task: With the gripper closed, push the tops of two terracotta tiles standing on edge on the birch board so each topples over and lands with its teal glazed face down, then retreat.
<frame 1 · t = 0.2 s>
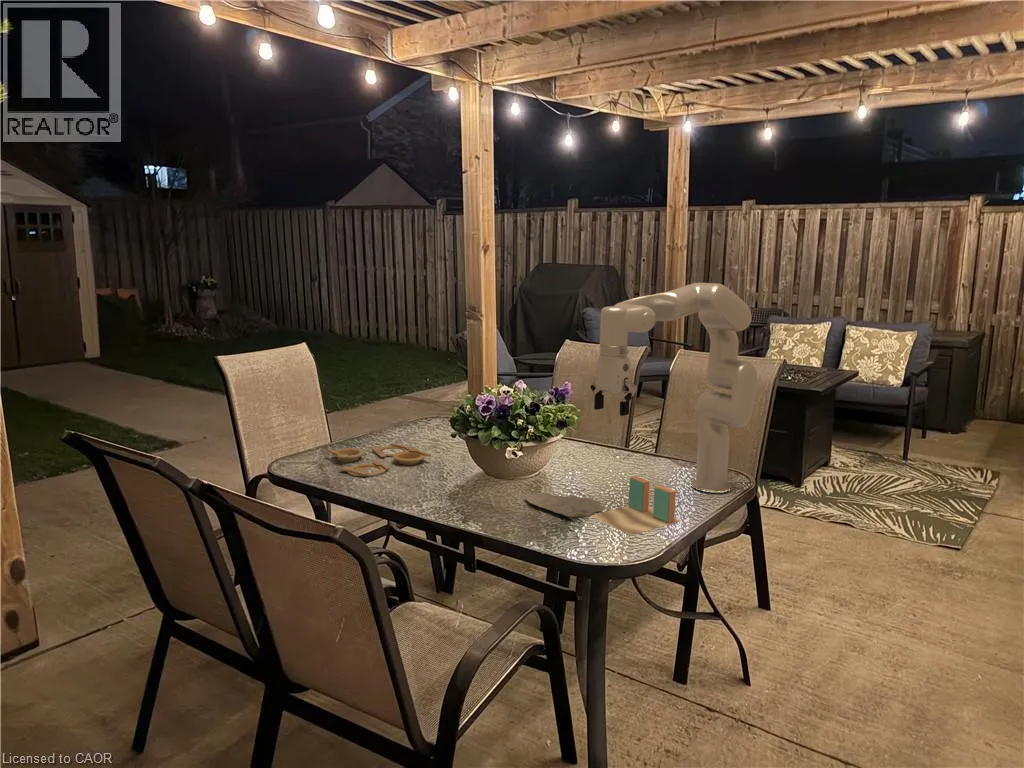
hand: (611, 411, 201), 31 cm above the table, tool pointing down, fingers open, 9 cm apart
board: (635, 521, 202), on the table
tile 2: (663, 519, 201), point 1 cm above the table, touching board
tile 1: (638, 508, 209), point 1 cm above the table, touching board
tableware set: (379, 462, 258), on the table
stone tool: (562, 509, 213), on the table
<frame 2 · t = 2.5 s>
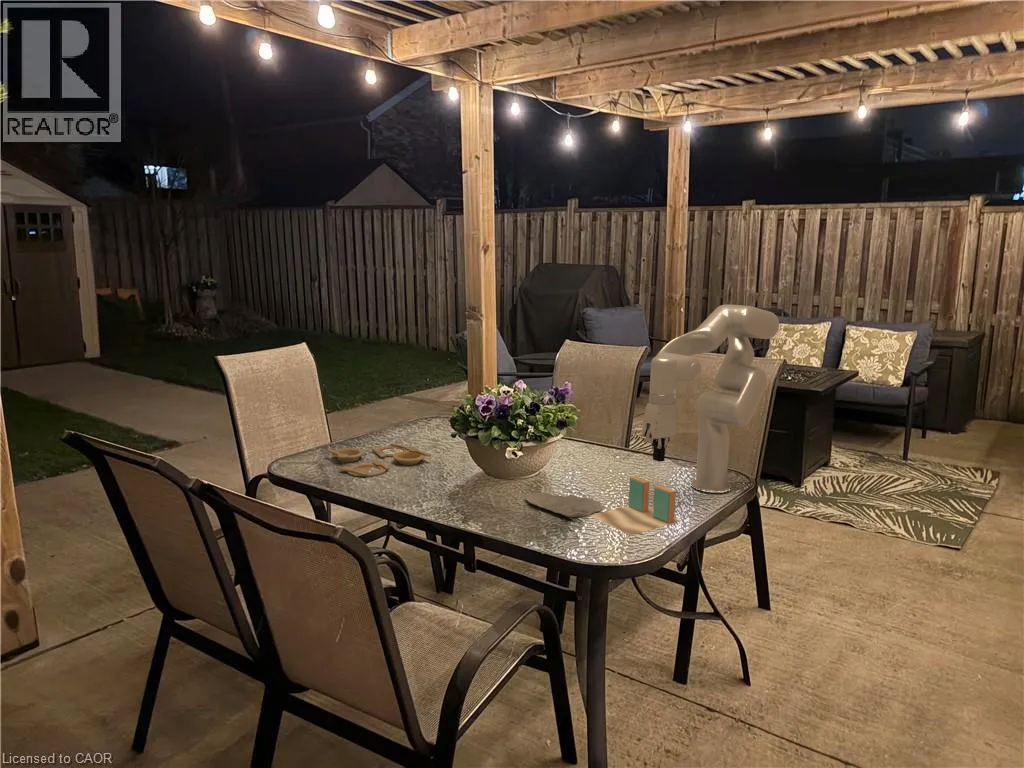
hand: (658, 460, 211), 15 cm above the table, tool pointing down, fingers closed
nothing on the table moved.
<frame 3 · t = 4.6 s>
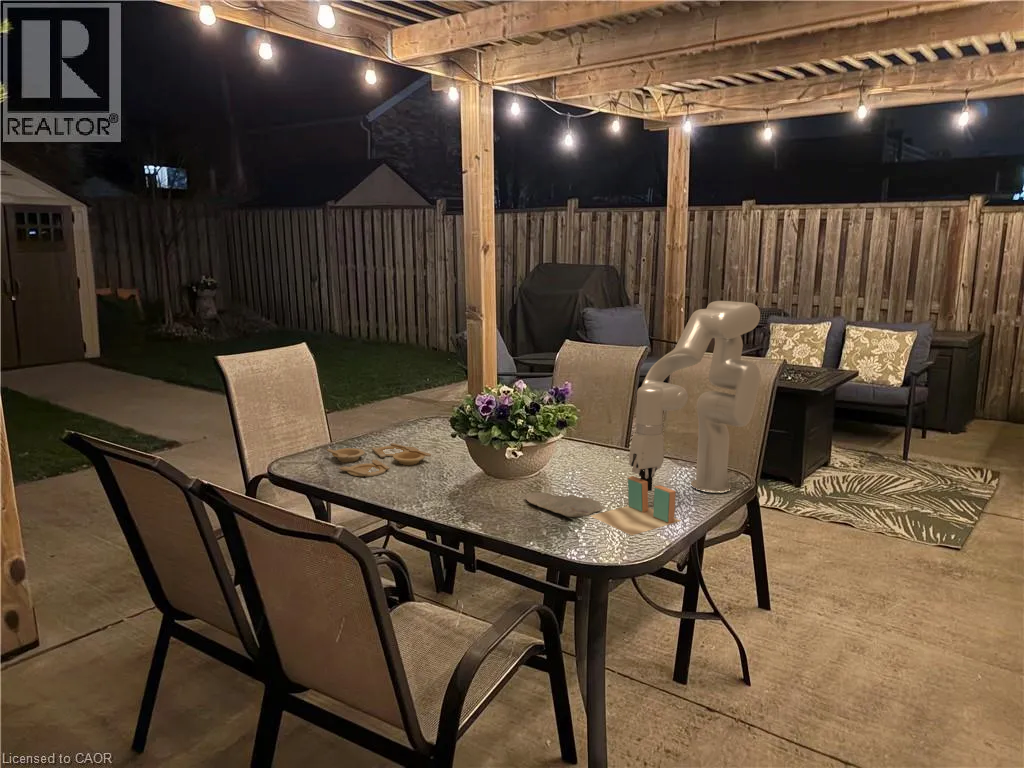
hand: (645, 489, 209), 6 cm above the table, tool pointing down, fingers closed
tile 1: (638, 508, 209), point 1 cm above the table, touching board, gripper
everything else where it was.
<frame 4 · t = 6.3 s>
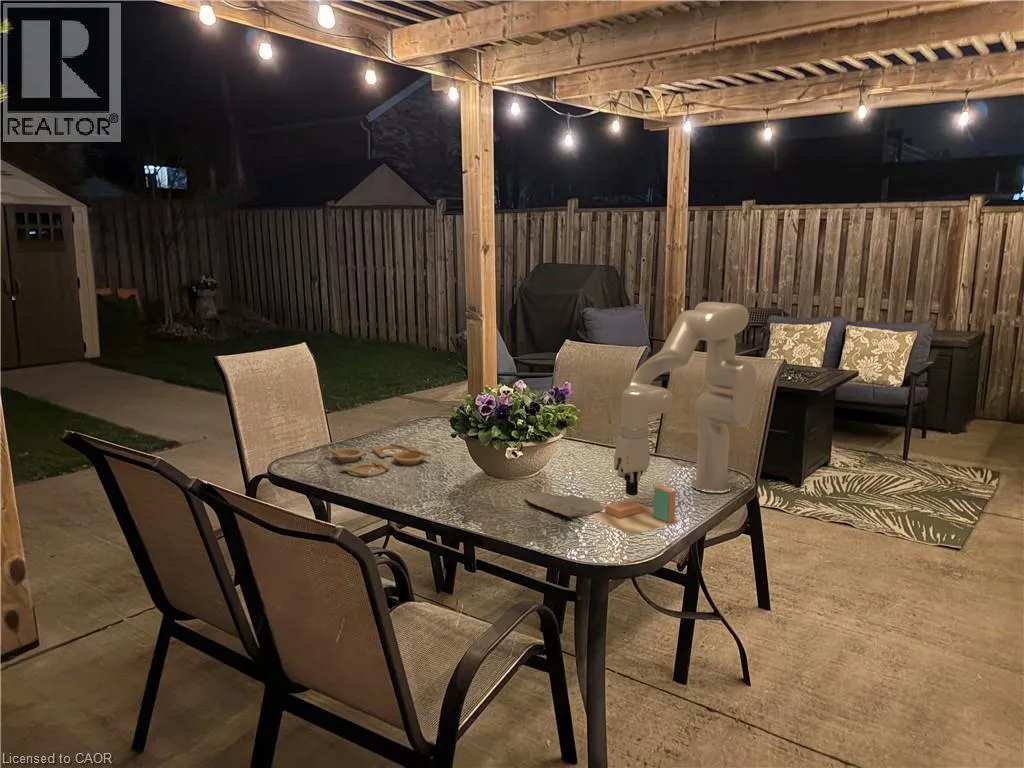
hand: (631, 494, 206), 6 cm above the table, tool pointing down, fingers closed
tile 1: (635, 505, 208), point 2 cm above the table, tilted 90°, touching board
everything else where it was.
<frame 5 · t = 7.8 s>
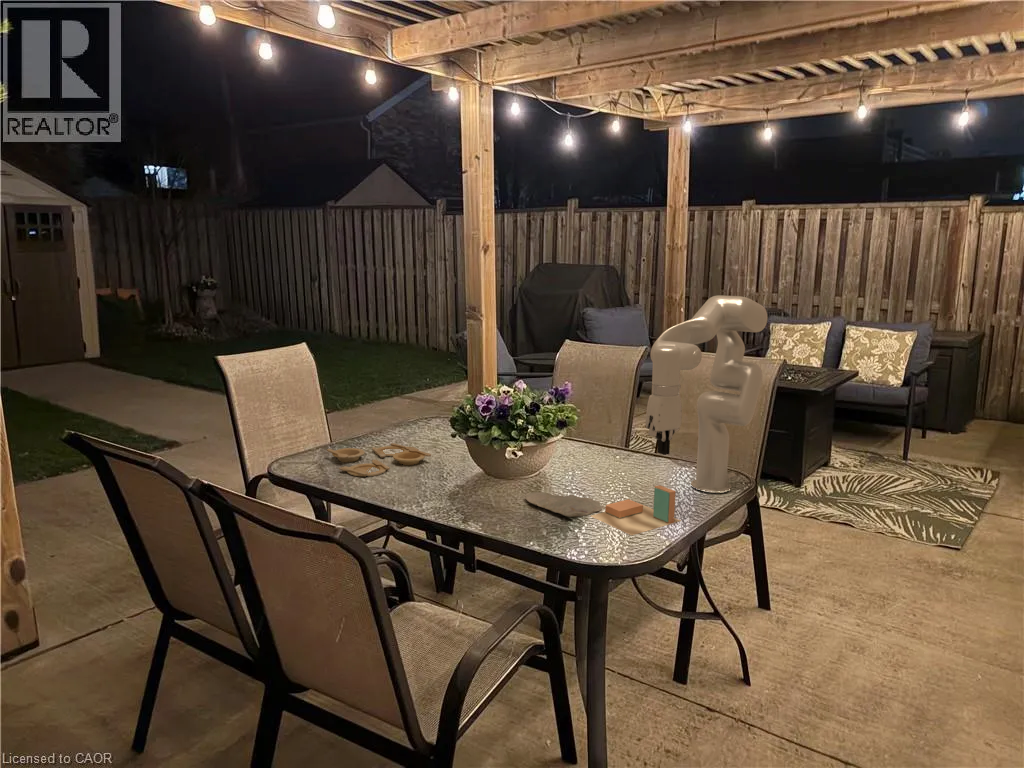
hand: (663, 453, 203), 19 cm above the table, tool pointing down, fingers closed
nothing on the table moved.
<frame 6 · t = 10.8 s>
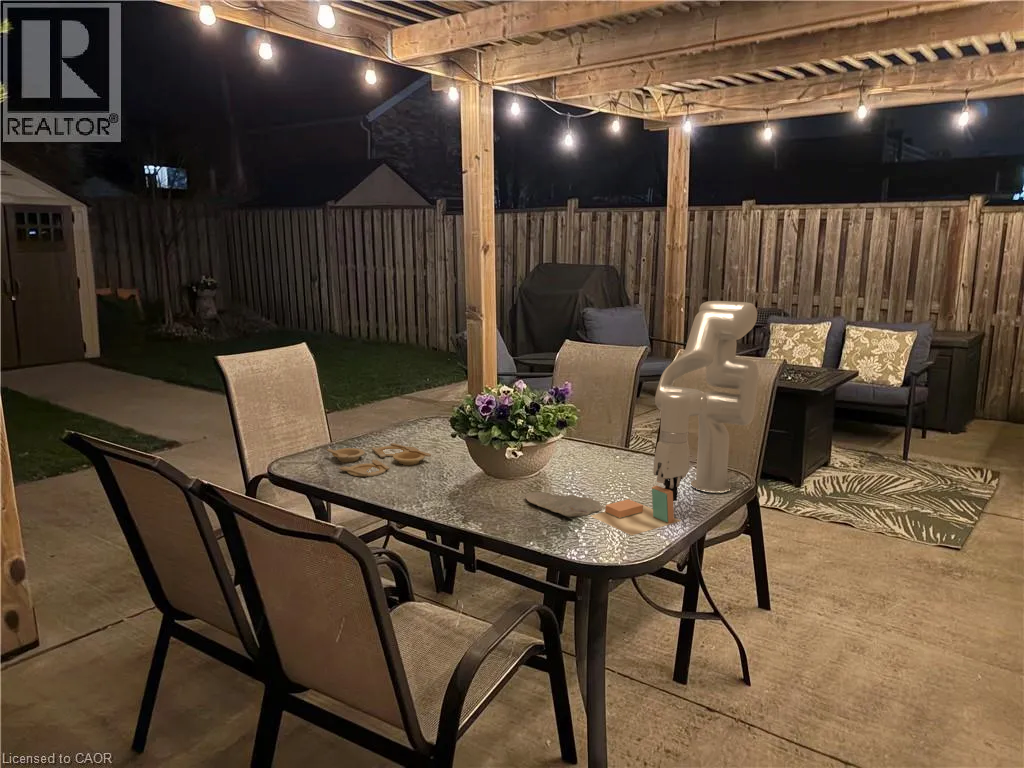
hand: (670, 499, 201), 6 cm above the table, tool pointing down, fingers closed
tile 2: (663, 519, 201), point 1 cm above the table, tilted 7°, touching board
everything else where it was.
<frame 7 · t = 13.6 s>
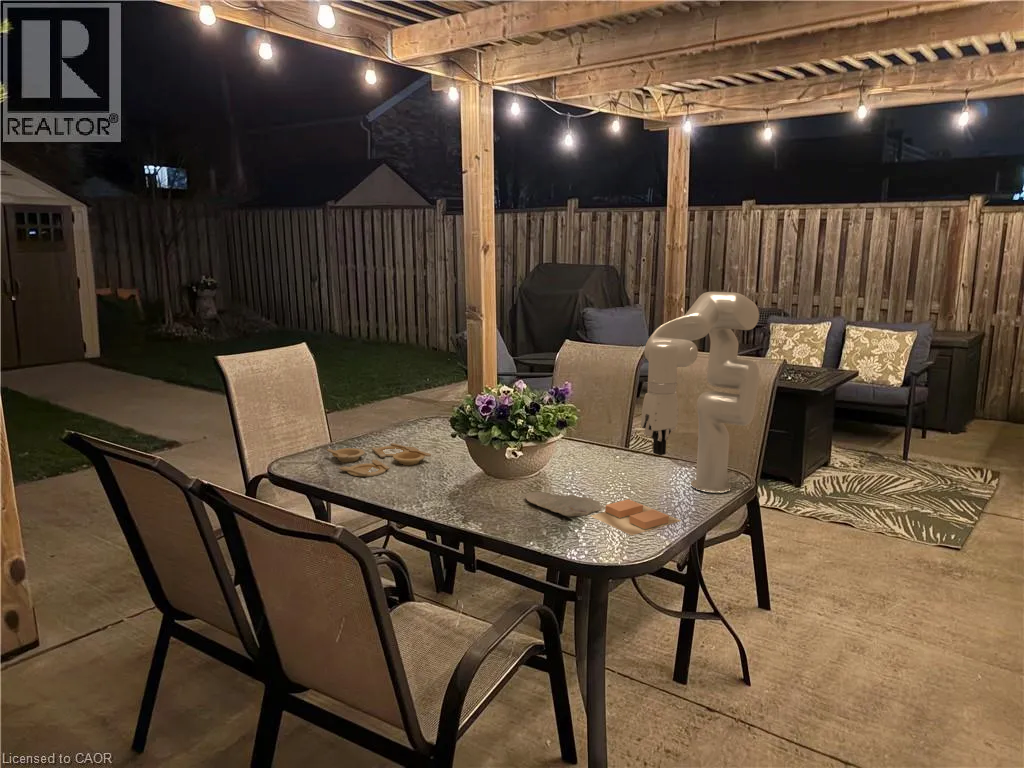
hand: (659, 453, 196), 21 cm above the table, tool pointing down, fingers closed
tile 2: (660, 515, 200), point 2 cm above the table, tilted 90°, touching board
everything else where it was.
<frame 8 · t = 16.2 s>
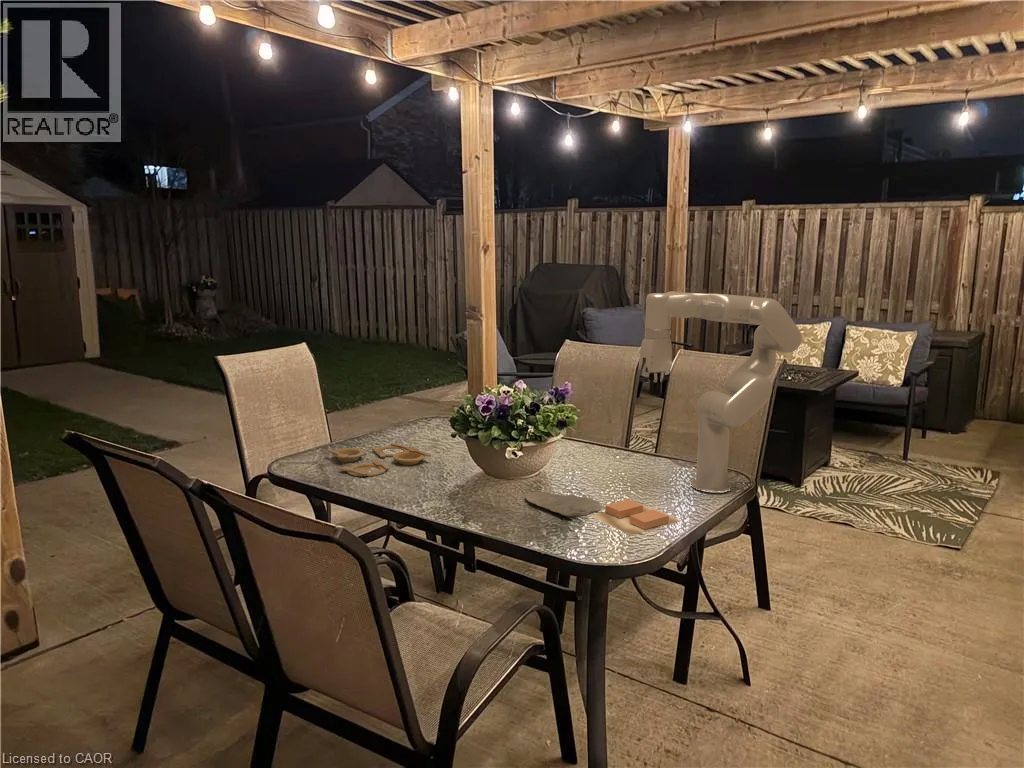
hand: (654, 394, 218), 32 cm above the table, tool pointing down, fingers closed
nothing on the table moved.
at the end: tile 1 tilted 90°; tile 2 tilted 90°; tile 1 inside the target area on the board (6.9 cm from its centre), point 2.3 cm above the board's base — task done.
